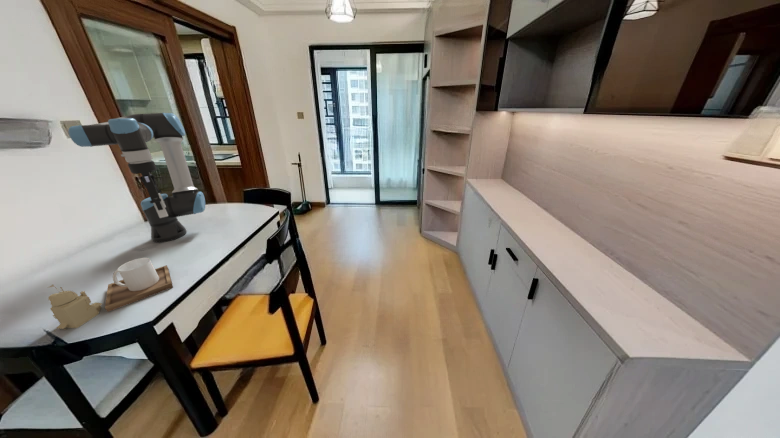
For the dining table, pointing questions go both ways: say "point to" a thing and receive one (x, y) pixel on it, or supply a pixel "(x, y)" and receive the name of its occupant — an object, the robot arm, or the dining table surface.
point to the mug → (137, 274)
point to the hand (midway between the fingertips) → (163, 212)
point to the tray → (124, 296)
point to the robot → (72, 308)
